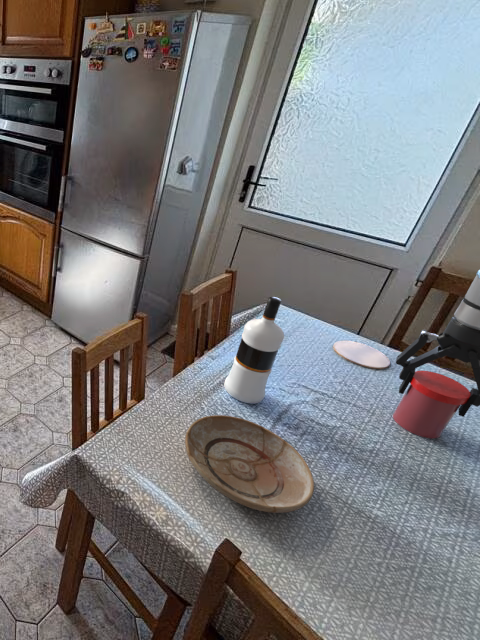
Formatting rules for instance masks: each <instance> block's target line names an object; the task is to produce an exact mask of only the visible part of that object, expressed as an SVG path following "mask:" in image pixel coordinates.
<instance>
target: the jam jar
mask: <svg viewBox="0 0 480 640" xmlns="http://www.w3.org/2000/svg"><path fill="white" fill-rule="evenodd" d="M460 406H461V405H452V404H447V403H443V402H440V401H437V400H434V399H432V398H430V397H428V396H426V395H424V394H422V393H420V392H419V391H417V390H416V389H415V388H414V387H413V386H412V385H411V384H410V383H409V384H408V386H407V388H406V390H405V391H404V393H403V396H402V397H401V399H400V400H399V403H398V405H397V406H396V408H395V410H394V412H393V414H392V419H393V420H394V421H395V422H396V424H397V425H398V426H400V427H402V429H404V430H406V431H408V432H410V433H411V434H414V435H415V436H419V437H421V438H425V439H432V440H434V439H439V438H440V437H441V436H442V434H443V433H444V431H445V430H446V428H447V426H449V424H450V422H451V420H452V419H453V418H454V416H455V414H456V413H457V411H459V407H460Z"/></svg>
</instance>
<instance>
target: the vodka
mask: <svg viewBox="0 0 480 640" xmlns="http://www.w3.org/2000/svg"><path fill="white" fill-rule="evenodd" d="M281 304H282V300H281V298H278V297H277V296H276V297H275V296H269V297H268V300H267V302H266V305H265V309H264V311H263V313H262V317H261V318H253V319H250V320H248V321H246V323H245V324H244V327H243V332H242V333H241V339H240V342H239V345H238V349H237V351H236V355H235V356H234V358H233V364H232V366H231V369H230V371H229V374H228V375H227V376H226V377H225V379H224V383H223V386H224V389H225V392H226V393H227V394H228V395H230V396H231V397H232V398H233V399H235V400H237V401H239V402H242V403H246V404H254V405H255V404H259V403H261V402H262V401H263V400H264V398H265V396H266V388H267V383H268V379H269V377H270V375H271V373H273V369H272V368H273V367H274V363H275V360H276V358H277V355H278V352H279V350H280V349H281V347H282V344H283V342H284V339H285V332H284V330H283V329H282V327H281V326H279V325H278V324H277V323H276V322H275V320H276V318H277V315H278V312H279V309H280V306H281Z"/></svg>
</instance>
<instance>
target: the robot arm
mask: <svg viewBox="0 0 480 640" xmlns="http://www.w3.org/2000/svg"><path fill="white" fill-rule="evenodd" d="M433 341H437V344H438V346H436V347H434V348H433V349H431V350H429V351H426V352H424V353H423V354H420V355H418V356H416V357H414V358H412V357H413V356H414V355H415V354H416V353H418V352H419V351H420V350H422V348H423V347H425V345H426V344H427V343H429V344H430V343H432V342H433ZM444 357H447V358H451V359H456V360H459V361H460V362H463V363H466V364H467V363H470V366H471V369H472V373H473V377H474V380H475V383H476V388H475V387H471V389H470V390H469V391H470V397H469V399H468V400H467V402H466V403H465V404H463V405H460V407H459V408H458V416H460V417H462V418H464V417H465V416H466V414H467V412H468V411H469V410H470V409H471V407H472V406H474V407H477V408H478V407H480V269H479V270H478V271H476V275H475V277H474V278H473V281H472V282H471V284H470V286H469V288H468V290H467V292H466V293H465V295H464V297H463V299H462V300H461V302H460V304H459V305H458V307H457V309H456V310H455V312H454V314H453V316H452V317H451V319H450V321H449V322H448V324H447V326H446V327H445V329H444V330H443V331H442V332H441V333H439V334H436V333H431V332H429V331H428V330H426V329H422V330H420V333H419V336H418V337H417V338H416V339H415V340H414V341H413V342H412V343H411V344H410V345H408V346H407V347H406V348H404V350H403V351H401V353H399V354H398V355H397V356H396V358H395V364H396V365H398V366H401V367H402V369H401V370H400V372H399V376H398V378H399V380H401V381H402V382H401V383H400V386H399V388H398V393H399V394H401V395H404V394H405V392H406V391H407V389H408V387H409V385H410V381H411V379H412V378H413V376H414V374H415V371H416V369H417V368H420V367H422V366H424V365H427V364H429V363H431V362H434V361H435V360H438V359H442V358H444ZM410 358H412V359H410Z"/></svg>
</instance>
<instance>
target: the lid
mask: <svg viewBox="0 0 480 640" xmlns="http://www.w3.org/2000/svg"><path fill="white" fill-rule="evenodd" d="M410 384H411V385H412V386H413V387H414V388H415V389H416V390H417V391H419V392H420V393H422V394H424V395H426V396H428V397H430V398H432V399H434V400H437V401H440V402H443V403H447V404H452V405H460V406H461V405H463V404H465V403H466V402H467V400H468V399H469V397H470V391H471V390H469V389H468V388H467V387H466V386H465V385H464V384H463V383H461V382H459V381H457V380H456V379H454V378H451V377H449V376H447V375H444V374H441V373H438V372H435V371H431V370H415V374H414V376H413V378H412V379H411V381H410V383H409V385H410Z"/></svg>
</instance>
